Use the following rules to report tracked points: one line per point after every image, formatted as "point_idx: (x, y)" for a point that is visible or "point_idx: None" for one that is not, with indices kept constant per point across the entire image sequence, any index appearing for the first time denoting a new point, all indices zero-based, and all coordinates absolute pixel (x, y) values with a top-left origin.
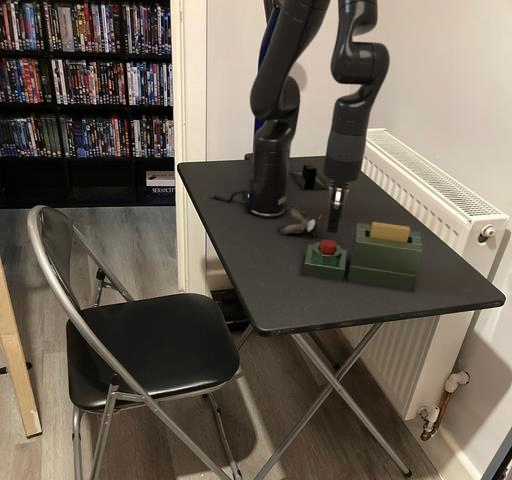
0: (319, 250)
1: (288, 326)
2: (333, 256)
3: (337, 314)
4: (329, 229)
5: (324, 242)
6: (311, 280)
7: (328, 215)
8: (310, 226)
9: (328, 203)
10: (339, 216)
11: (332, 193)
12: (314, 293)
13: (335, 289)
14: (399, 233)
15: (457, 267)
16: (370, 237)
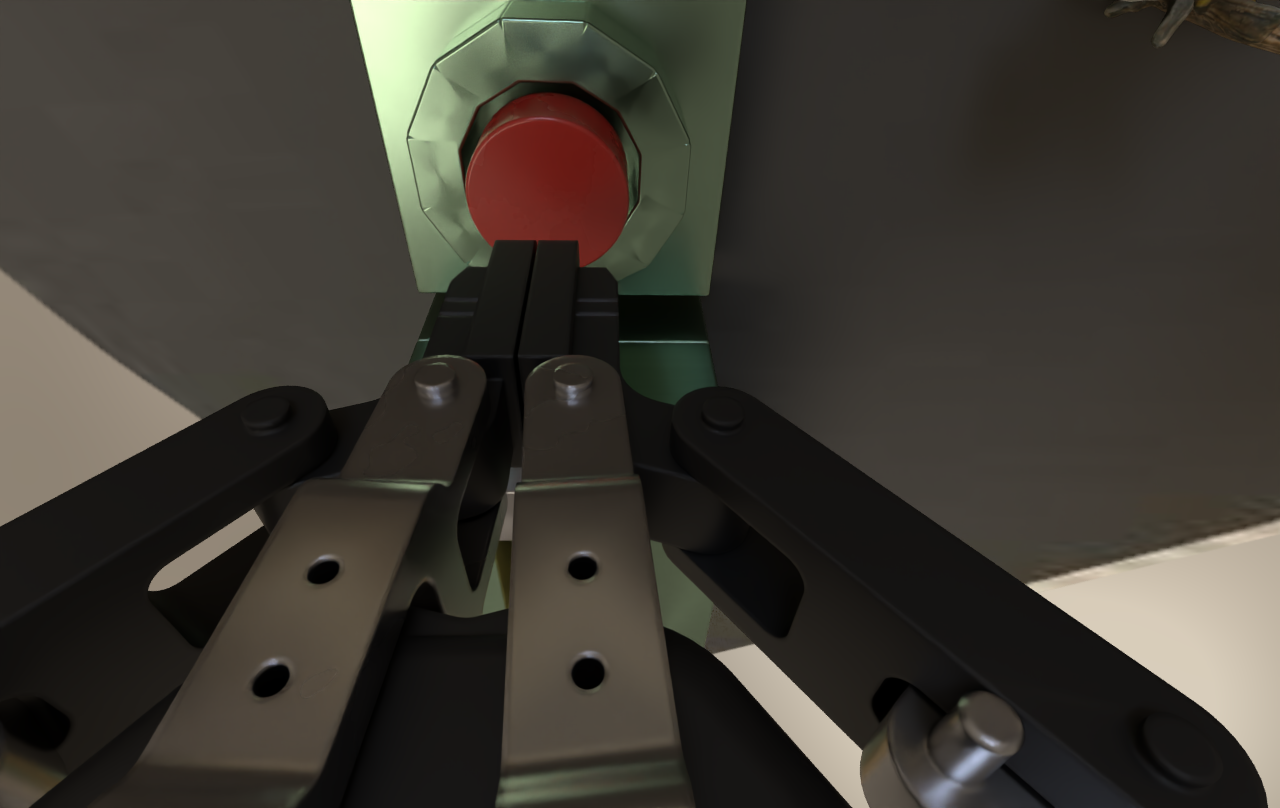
0: (480, 100)
1: None
2: (441, 233)
3: (23, 228)
4: (455, 283)
5: (548, 161)
6: (326, 11)
7: (249, 406)
8: None
9: (271, 535)
10: (241, 556)
11: (844, 573)
12: (150, 52)
13: (308, 204)
14: None
15: (737, 627)
16: (494, 566)
